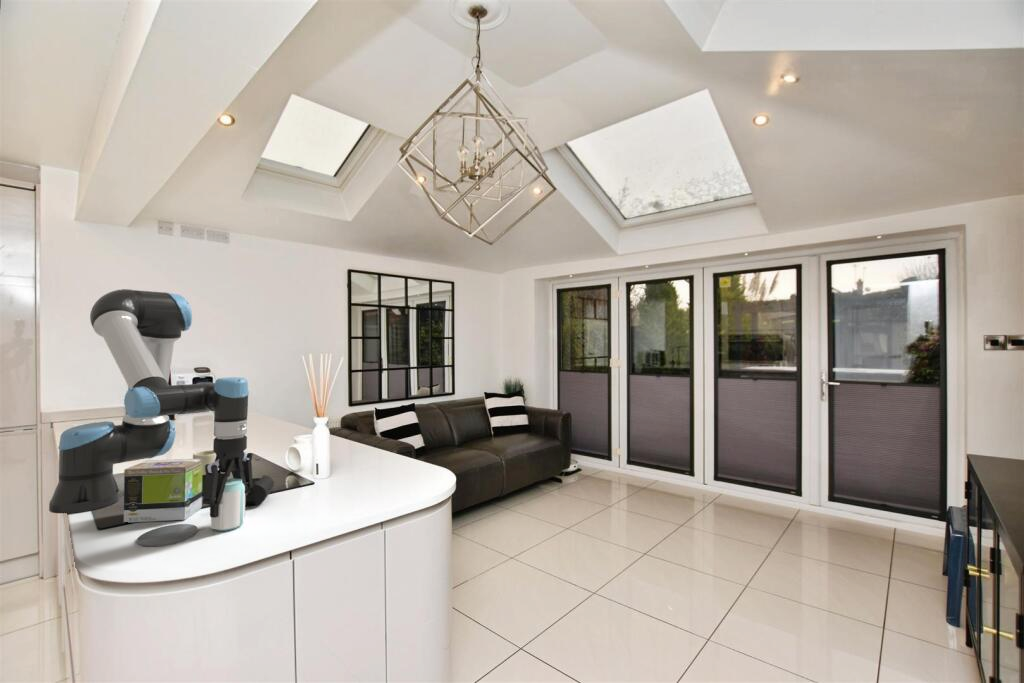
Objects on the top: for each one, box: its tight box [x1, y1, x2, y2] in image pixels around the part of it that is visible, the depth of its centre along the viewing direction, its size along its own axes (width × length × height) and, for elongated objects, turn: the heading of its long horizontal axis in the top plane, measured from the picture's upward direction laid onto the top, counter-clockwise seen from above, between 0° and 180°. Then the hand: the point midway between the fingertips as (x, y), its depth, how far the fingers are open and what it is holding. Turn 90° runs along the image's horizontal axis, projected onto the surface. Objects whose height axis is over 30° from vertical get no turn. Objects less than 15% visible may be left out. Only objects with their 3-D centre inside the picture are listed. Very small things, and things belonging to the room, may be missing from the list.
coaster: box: [136, 523, 198, 548], centre depth 113 cm, size 12×12×1 cm
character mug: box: [192, 449, 216, 495], centre depth 144 cm, size 11×7×13 cm, turn 109°
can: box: [215, 477, 245, 532], centre depth 119 cm, size 7×7×12 cm
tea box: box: [123, 458, 203, 523], centre depth 126 cm, size 15×10×15 cm, turn 100°
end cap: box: [245, 475, 275, 509], centre depth 138 cm, size 10×7×7 cm
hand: (228, 522), depth 119 cm, fingers closed on can, 7 cm apart
